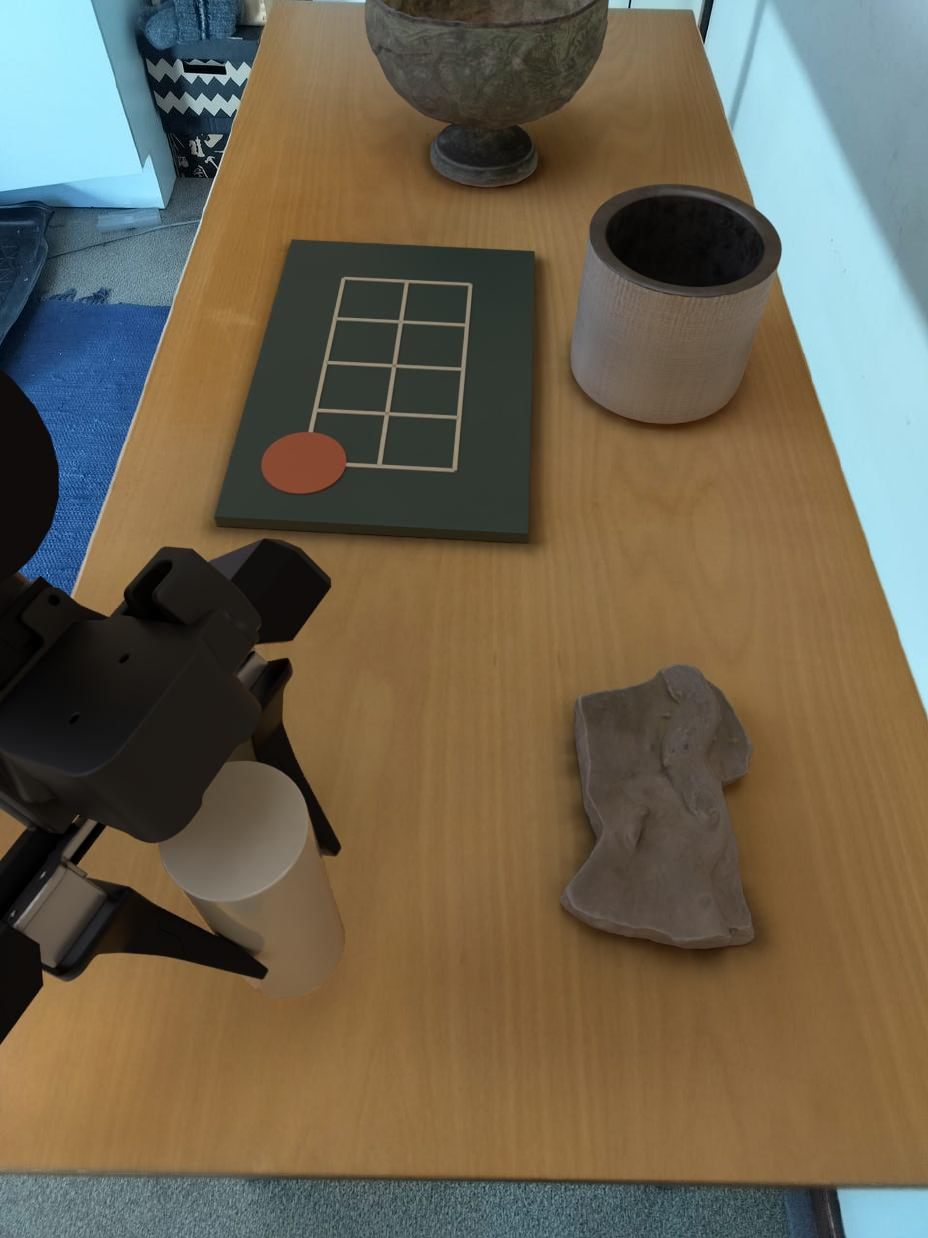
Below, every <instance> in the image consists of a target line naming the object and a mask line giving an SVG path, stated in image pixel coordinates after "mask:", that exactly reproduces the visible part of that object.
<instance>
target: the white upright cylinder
mask: <svg viewBox="0 0 928 1238" xmlns="http://www.w3.org/2000/svg"><path fill="white" fill-rule="evenodd" d="M157 845H158V853H159V857H160V859H161V863H162V866H163V868H164V870H165V871H166V874H167V875H168V877H169V878H170V879H171V880H172V882H173V883H174V885H175V886H176V887H177V889H178V891H179V892H180V893H181V895H182V896H183V897H184V899H185V900H186V901H187V903H188V904H189V905H190V906H191V908H192V909H193V911H194V912H195V914H196V915H197V916H198V918H199V919H200V920H201V922H202V923H203V925H204V926H205V927H206V929H207V931H208V932H210V933H212V934H214V935H216V936H218V937H220V938H222V939H224V940H226V941H228V942H230V943H232V944H234V945H236V946H238V947H240V948H241V949H243V950H245V951H246V952H247V953H249V954H250V955H251V956H252V957H254V958H255V959H256V960H258V961H259V962H260V963H262V964H263V965H264V966H265V967H267V968H268V970H269V971H268V973H267V975H266V976H265V978H264V979H263V980H260V979H256V978H252V977H248V976H244V975H241V976H242V977H243V979H244V980H245V981H246V982H247V983H248V985H249V986H250V987H251V988H253V990H255V991H256V992H257V993H259V994H261V995H263V996H265V997H268V998H271V999H275V1000H283V1001H285V1000H295V999H299V998H303V997H306V996H308V995H310V994H312V993H315V991H317V990H319V989H320V988H321V987H322V986H324V985H325V984H326V983H327V982H328V981H329V980H330V979H331V977H333V975H334V974H335V972H336V970H337V969H338V968H339V965H340V963H341V961H342V958H343V955H344V951H345V945H346V933H345V926H344V922H343V920H342V916H341V913H340V912H341V911H340V909H339V906H338V903H337V900H336V896H335V892H334V890H333V887H332V884H331V880H330V877H329V874H328V871H327V867H326V863H325V861H324V858H323V857H324V856H323V854H321V851H320V847H319V844H318V841H317V838H316V834H315V831H314V828H313V825H312V821H311V818H310V815H309V812H308V808H307V805H306V802H305V799H304V797H303V795H302V793H301V791H300V790H299V788H298V787H297V785H296V784H295V783H294V782H293V781H292V780H291V779H290V778H289V777H288V776H287V775H285V774H284V773H283V772H281V771H280V770H278V769H276V768H274V767H272V766H269V765H267V764H263V763H259V762H253V761H234V762H227V763H225V764H224V765H223V767H222V768H221V770H220V771H219V772H218V774H217V775H216V777H215V778H214V779H213V781H212V782H211V784H210V785H209V787H208V788H207V789H206V791H205V792H204V794H203V798H202V806H201V808H200V809H199V811H198V812H197V814H196V815H195V816H194V818H193V819H192V820H191V822H190V823H189V824H188V825H187V826H186V827H185V828H184V829H183V830H182V831H181V832H179V833H178V834H177V835H175V836H173V837H172V838H170V839H168V840H166V841H162V842H159V843H157Z"/></svg>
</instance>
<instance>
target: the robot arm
mask: <svg viewBox="0 0 928 1238" xmlns="http://www.w3.org/2000/svg"><path fill="white" fill-rule="evenodd" d="M54 446H55V445H54V442H53V439H52V435H51V433H50V431H49V429H48V427H47V426H46V424H45V422H44V420H43V418H42V417H41V414H40V412H39V411H38V409H37V407H36V405H35V404H34V403H33V402H32V401H31V399H30V398H29V396H27V395H26V393H25V392H24V390H22V389H21V387H20V386H19V385H18V384H17V382H16V381H15V380H14V379H13V378H12V377H11V376H10V375H9V374H7V373H6V372H5V371H4V370H3V369H1V368H0V810H2V811H3V812H4V813H6V814H7V815H9V816H10V817H12V818H13V819H14V820H15V821H18V822H19V823H20V824H22V825H23V826H24V827H26V828H25V829H24V830H23V832H22V833H21V834H20V835H19V836H18V838H17V839H16V840H15V842H13V844H12V845H11V846H10V848H9V849H8V850H7V851H6V853H5V854H4V855H3V856H2V857H1V858H0V1046H1V1045H2V1043H3V1042H4V1041H5V1040H6V1038H7V1037H8V1035H9V1034H10V1033H11V1031H12V1030H13V1029H14V1027H15V1026H16V1024H17V1023H18V1022H19V1020H20V1019H21V1017H22V1016H23V1014H24V1013H25V1012H26V1010H27V1009H28V1007H29V1006H30V1005H31V1004H32V1002H33V1001H34V999H35V998H36V996H37V995H38V994H39V992H40V991H42V988H43V987H44V975H43V972H44V973H45V974H48V975H50V976H51V977H54V978H56V979H58V980H60V981H62V982H63V983H69V982H72V981H74V980H76V979H77V978H79V977H80V976H81V975H82V974H83V973H84V972H85V971H86V970H87V968H88V967H89V965H90V964H91V963H92V962H93V960H94V959H95V958H96V957H97V956H99V955H112V954H113V955H114V954H130V955H142V956H143V955H144V956H156V957H165V958H169V959H174V960H175V959H176V960H178V961H184V962H187V963H191V964H195V965H198V966H199V965H200V966H204V967H207V968H212V969H216V970H220V971H224V972H228V973H233V974H237V975H239V976H242V975H244V976H248V977H252V978H256V979H260V980H263V979H264V978H265V976H266V975H267V973H268V971H269V970H268V968H267V967H265V966H264V965H263V964H262V963H260V962H259V961H258V960H256V959H255V958H254V957H252V956H251V955H250V954H249V953H247V952H246V951H245V950H243V949H241V948H240V947H238V946H236V945H234V944H232V943H230V942H228V941H226V940H224V939H222V938H220V937H218V936H216V935H214V934H212V933H211V932H210V931H209V930H208V929H207V930H206V929H204V927H202V926H201V927H200V926H199V925H197V924H195V923H193V922H191V921H189V920H187V919H185V918H183V917H181V916H179V915H178V914H176V913H173V912H171V911H170V910H168V909H166V908H164V907H162V906H160V905H158V904H156V903H154V902H153V901H151V900H150V899H148V898H147V897H145V896H144V895H143V894H141V893H140V892H139V891H137V890H135V889H134V888H133V887H131V886H128V885H124V884H120V883H115V882H111V881H106V880H102V879H98V878H93V877H88V875H89V874H88V872H86V871H85V870H84V869H82V868H80V867H79V866H78V865H79V864H80V862H81V861H82V859H83V858H84V857H85V856H86V854H87V853H88V851H89V850H90V849H91V848H92V847H93V845H94V844H95V842H96V841H97V840H98V838H99V837H100V835H101V834H102V833H103V832H104V830H105V829H106V828H107V827H109V828H112V829H114V830H117V831H120V832H122V833H124V834H127V835H129V836H131V838H133V839H135V840H137V841H140V842H143V843H147V844H158V843H159V842H162V841H166V840H168V839H170V838H172V837H173V836H175V835H177V834H178V833H179V832H181V831H182V830H183V829H184V828H185V827H186V826H187V825H188V824H189V823H190V822H191V820H192V819H193V818H194V816H195V815H196V814H197V812H198V811H199V809H200V808H201V806H202V798H203V794H204V792H205V791H206V789H207V788H208V787H209V785H210V784H211V782H212V781H213V779H214V778H215V777H216V775H217V774H218V772H219V771H220V770H221V768H222V767H223V765H224V764H225V763H227V762H234V761H253V762H259V763H263V764H267V765H269V766H272V767H274V768H276V769H278V770H280V771H281V772H283V773H284V774H285V775H287V776H288V777H289V778H290V779H291V780H292V781H293V782H294V783H295V784H296V785H297V787H298V788H299V790H300V791H301V793H302V795H303V797H304V799H305V802H306V805H307V808H308V812H309V815H310V818H311V821H312V825H313V828H314V831H315V834H316V838H317V841H318V844H319V847H320V851H321V854H322V856H327V857H337V856H338V855H339V853H340V851H341V850H342V844H341V842H340V841H339V839H338V837H337V835H336V833H335V831H334V829H333V827H332V825H331V823H330V822H329V819H328V818H327V816H326V814H325V811H324V810H323V808H322V806H321V804H320V802H319V800H318V799H317V797H316V795H315V792H314V791H313V789H312V787H311V786H310V783H309V781H308V779H307V777H306V776H305V774H304V772H303V770H302V768H301V766H300V763H299V762H298V760H297V757H296V755H295V752H294V750H293V747H292V744H291V742H290V739H289V736H288V734H287V731H286V728H285V724H284V717H283V716H284V694H285V688H286V686H287V685H288V683H289V682H290V680H291V678H292V676H293V675H294V668H293V664H292V661H291V660H290V659H289V658H288V657H281V658H277V659H272V660H266V659H264V657H262V656H261V655H260V654H259V653H258V652H257V651H256V647H255V646H258V645H260V646H261V645H273V644H274V645H275V644H285V643H288V642H293V641H294V640H295V638H296V637H297V635H298V634H299V632H300V631H301V630H302V628H304V626H305V624H306V623H307V621H308V620H309V619H310V618H311V616H312V615H313V613H314V612H315V611H316V609H317V608H318V607H319V605H320V604H321V602H322V601H323V599H324V598H325V597H326V595H327V594H328V593H329V591H330V590H331V588H332V578H331V577H330V576H329V574H328V573H326V572H325V571H324V570H323V569H322V568H321V567H320V566H319V565H318V564H317V563H316V562H315V560H313V558H311V556H309V554H307V553H306V551H304V549H303V548H301V547H300V546H297V545H295V544H293V543H290V542H288V541H285V540H283V539H280V538H279V539H278V538H267V537H263V538H261V539H258V540H255V541H254V542H251V543H249V544H247V545H244V546H242V547H239V548H237V549H235V550H232V551H230V552H226V553H224V554H222V555H219V556H218V557H215V558H213V559H210V560H206V559H205V557H203V556H202V555H201V554H199V553H198V552H197V551H196V550H194V548H191V547H178V546H170V545H169V546H166V545H165V546H162V547H160V548H159V550H158V551H157V552H156V553H155V554H154V555H153V556H152V557H151V558H150V560H149V561H148V562H147V563H146V564H145V565H144V567H143V568H142V569H141V570H140V571H139V572H138V573H137V575H135V576H134V578H133V579H132V580H131V581H130V582H129V584H127V586H126V587H125V589H124V591H123V600H122V602H121V603H119V605H118V606H117V607H116V608H115V610H114V611H113V612H112V613H110V615H109V616H107V615H105V614H103V613H100V612H99V611H96V610H93V609H91V608H88V607H86V606H84V605H83V604H80V603H79V602H77V600H75V599H74V598H73V597H71V595H69V594H68V593H67V592H65V591H64V590H63V589H62V588H60V587H57V586H53V584H51V583H50V582H49V581H48V580H47V579H45V578H44V577H43V576H42V575H39V576H37V577H36V578H33V579H32V580H30V579H28V578H27V577H26V576H25V575H23V574H22V573H21V572H20V570H21V569H22V568H24V567H25V566H26V565H27V564H28V563H29V562H30V560H32V558H33V557H34V556H35V555H36V553H37V552H38V550H39V548H40V547H41V545H42V544H43V542H44V540H45V538H46V536H47V535H48V533H49V532H50V531H51V528H52V526H53V522H54V518H55V514H56V511H57V506H58V503H59V499H60V465H59V461H58V458H57V455H56V450H55V447H54Z"/></svg>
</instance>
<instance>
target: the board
mask: <svg viewBox="0 0 928 1238" xmlns="http://www.w3.org/2000/svg"><path fill="white" fill-rule="evenodd" d="M535 263H536V251H535V250H525V249H524V250H523V249H521V250H520V249H505V248H504V249H502V248H483V247H482V248H481V247H480V248H479V247H460V246H459V247H458V246H440V245H422V244H421V245H418V244H401V243H400V244H399V243H398V244H397V243H377V242H356V241H355V242H354V241H335V240H317V239H296V238H292V239H291V240H290V242H289V246H288V250H287V253H286V256H285V260H284V264H283V268H282V271H281V274H280V279H279V281H278V285H277V289H276V293H275V296H274V300H273V303H272V306H271V310H270V314H269V318H268V322H267V325H266V328H265V333H264V335H263V339H262V342H261V347H260V350H259V353H258V357H257V361H256V365H255V368H254V371H253V375H252V379H251V382H250V386H249V389H248V394H247V397H246V400H245V404H244V407H243V410H242V415H241V417H240V421H239V425H238V428H237V432H236V436H235V439H234V442H233V446H232V450H231V453H230V457H229V461H228V465H227V467H226V471H225V475H224V479H223V483H222V486H221V489H220V493H219V497H218V500H217V504H216V508H215V510H214V514H213V517H214V521H215V524H216V527H228V528H229V527H230V528H247V529H263V530H264V529H265V530H266V529H267V530H280V531H281V530H285V531H299V532H300V531H302V532H303V531H304V532H317V533H319V532H320V533H321V532H322V533H336V534H356V535H357V534H358V535H374V536H375V535H376V536H395V537H410V538H411V537H412V538H413V537H415V538H431V539H447V540H450V539H451V540H467V541H484V542H485V541H487V542H504V543H522V544H523V543H524V544H527V543H528V542H529V537H530V536H529V535H530V500H531V499H530V497H531V496H530V493H531V492H530V491H531V451H532V442H531V441H532V409H533V407H532V406H533V405H532V404H533V403H532V402H533V361H534V355H533V354H534V317H535V315H534V310H535V271H536V270H535V269H536V267H535V266H536V265H535Z"/></svg>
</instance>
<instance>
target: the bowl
mask: <svg viewBox="0 0 928 1238" xmlns="http://www.w3.org/2000/svg"><path fill="white" fill-rule="evenodd" d="M609 4H610V0H365V2H364V24H365V25H364V26H365V34H366V38H367V40H368V44H369V47H370V50H371V51H372V53H373V54H374V55H375V57H376V59H377V61H378V63H379V65H380V68H381V70H382V72H383V74H384V76H385V79H386V80H387V81H388V83H389V84H390V86H391V87H392V89H393V90H394V92H396V94H397V95H398V96H399V97H401V98H402V99H403V100H404V101H405V102H406V103H408V104H409V105H410V106H411V107H412V108H413V109H414V110H416V111H417V112H419V113H420V114H422V115H424V116H425V117H427V118H429V119H432V120H435V121H438V122H441V123H444V124H449V125H446V126H445V127H444V128H442V129H441V130H439V132H438V133H437V134H436V136H435V137H434V138H433V140H432V142H431V145H430V151H429V154H430V155H429V159H430V162H431V165H432V166H433V168H434V169H435V171H437V173H439V175H441V176H443V177H445V178H446V179H449V180H451V181H452V182H455V183H458V184H462V185H468V186H471V187H472V186H473V187H480V188H495V187H503V186H507V185H514V184H517V183H519V182H521V181H523V180H524V179H527V178H528V177H529V176H531V175H532V174H533V173H534V172H535V171H536V168H537V166H538V161H539V154H538V150H537V147H536V144H535V142H534V141H533V139H532V137H531V136H530V135H529V133H528V132H527V131H526V130H524V129H523V128H522V127H520V126H521V125H523V124H527V123H531V122H534V121H538V120H540V119H542V118H543V117H544V118H545V117H546V116H548V115H551V114H553V113H555V112H558V111H559V110H560V109H562V108H563V107H564V106H565V105H566V104H568V103H570V102H571V100H572V99H573V97H575V95H576V94H577V93H578V92H579V90H580V89H581V88H582V87H583V86H584V84H585V83H586V81H587V80H588V77H589V76H590V75H591V73H592V71H593V69H594V67H595V65H596V64H597V62H598V61H599V59H600V56H601V54H602V51H603V49H604V42H605V38H606V35H607V30H608V25H609V23H608V22H609V21H608V13H609Z"/></svg>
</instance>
